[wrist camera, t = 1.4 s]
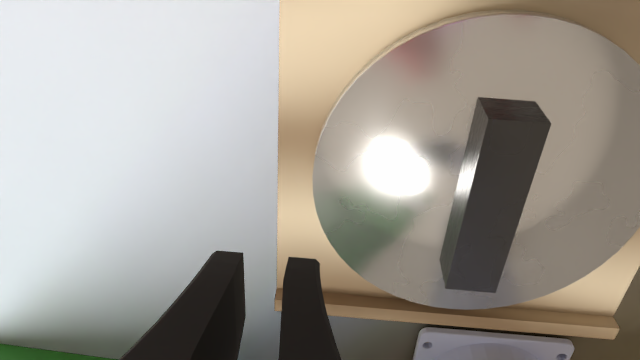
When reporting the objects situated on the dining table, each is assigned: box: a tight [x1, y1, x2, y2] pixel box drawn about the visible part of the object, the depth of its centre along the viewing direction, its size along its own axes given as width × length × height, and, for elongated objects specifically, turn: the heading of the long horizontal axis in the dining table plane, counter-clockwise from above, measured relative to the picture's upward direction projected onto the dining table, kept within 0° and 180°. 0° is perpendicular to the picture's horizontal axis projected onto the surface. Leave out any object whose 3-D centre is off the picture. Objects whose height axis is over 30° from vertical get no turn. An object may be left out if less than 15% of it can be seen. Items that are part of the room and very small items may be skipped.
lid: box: [312, 9, 640, 310], centre depth 16 cm, size 11×11×2 cm
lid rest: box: [275, 0, 640, 340], centre depth 18 cm, size 13×13×5 cm
